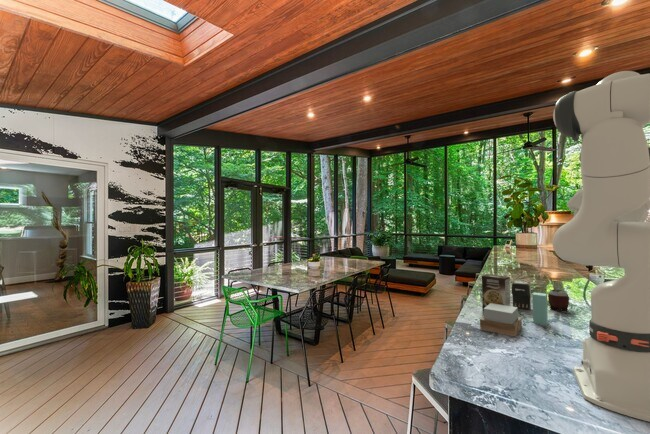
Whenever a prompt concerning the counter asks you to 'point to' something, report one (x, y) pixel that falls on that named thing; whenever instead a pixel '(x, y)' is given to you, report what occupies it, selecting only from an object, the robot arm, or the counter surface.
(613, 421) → the counter surface
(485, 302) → the coffee box
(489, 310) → the tower top
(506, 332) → the tower base
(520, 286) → the battery charger
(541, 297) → the teal block
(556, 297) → the mate gourd
